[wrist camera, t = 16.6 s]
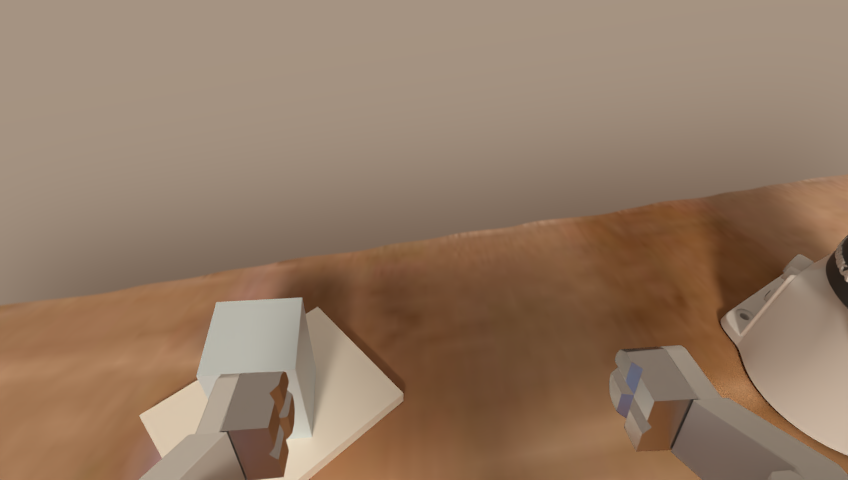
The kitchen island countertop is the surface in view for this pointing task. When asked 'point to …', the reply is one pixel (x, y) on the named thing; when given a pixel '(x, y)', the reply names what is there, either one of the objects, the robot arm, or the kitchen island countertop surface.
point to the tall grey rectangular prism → (263, 349)
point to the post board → (333, 403)
